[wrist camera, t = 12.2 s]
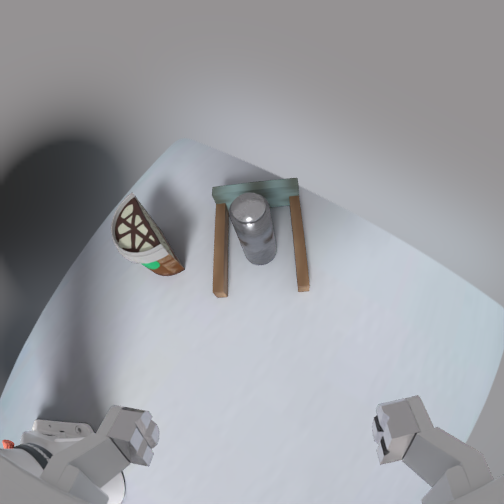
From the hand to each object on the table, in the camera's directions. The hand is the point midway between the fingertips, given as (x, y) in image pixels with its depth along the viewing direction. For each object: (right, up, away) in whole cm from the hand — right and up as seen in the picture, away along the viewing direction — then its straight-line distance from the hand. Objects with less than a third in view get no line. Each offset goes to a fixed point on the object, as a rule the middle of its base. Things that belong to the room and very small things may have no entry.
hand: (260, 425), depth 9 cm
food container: (-16, +5, +37) cm, 41 cm away
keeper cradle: (+1, +7, +35) cm, 36 cm away
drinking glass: (+1, +6, +35) cm, 36 cm away
